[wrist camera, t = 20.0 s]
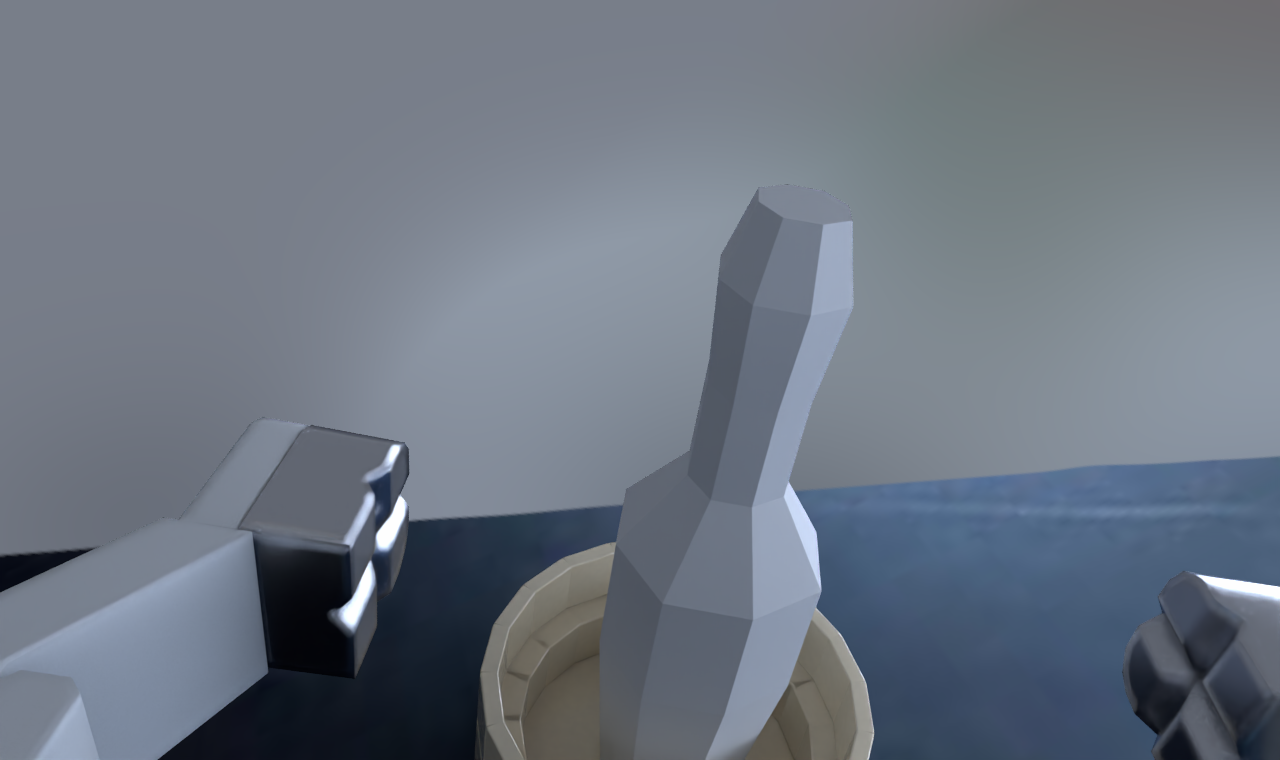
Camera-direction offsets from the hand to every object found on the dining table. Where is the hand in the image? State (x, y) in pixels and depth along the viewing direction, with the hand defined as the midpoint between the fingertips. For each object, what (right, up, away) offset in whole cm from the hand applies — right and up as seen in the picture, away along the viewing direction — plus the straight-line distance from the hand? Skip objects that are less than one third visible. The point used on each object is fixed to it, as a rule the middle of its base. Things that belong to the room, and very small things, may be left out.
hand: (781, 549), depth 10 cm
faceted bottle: (-1, -12, +24) cm, 27 cm away
